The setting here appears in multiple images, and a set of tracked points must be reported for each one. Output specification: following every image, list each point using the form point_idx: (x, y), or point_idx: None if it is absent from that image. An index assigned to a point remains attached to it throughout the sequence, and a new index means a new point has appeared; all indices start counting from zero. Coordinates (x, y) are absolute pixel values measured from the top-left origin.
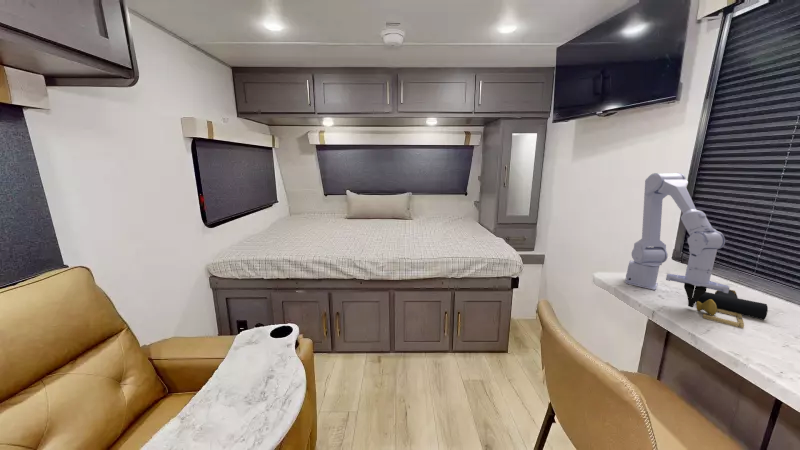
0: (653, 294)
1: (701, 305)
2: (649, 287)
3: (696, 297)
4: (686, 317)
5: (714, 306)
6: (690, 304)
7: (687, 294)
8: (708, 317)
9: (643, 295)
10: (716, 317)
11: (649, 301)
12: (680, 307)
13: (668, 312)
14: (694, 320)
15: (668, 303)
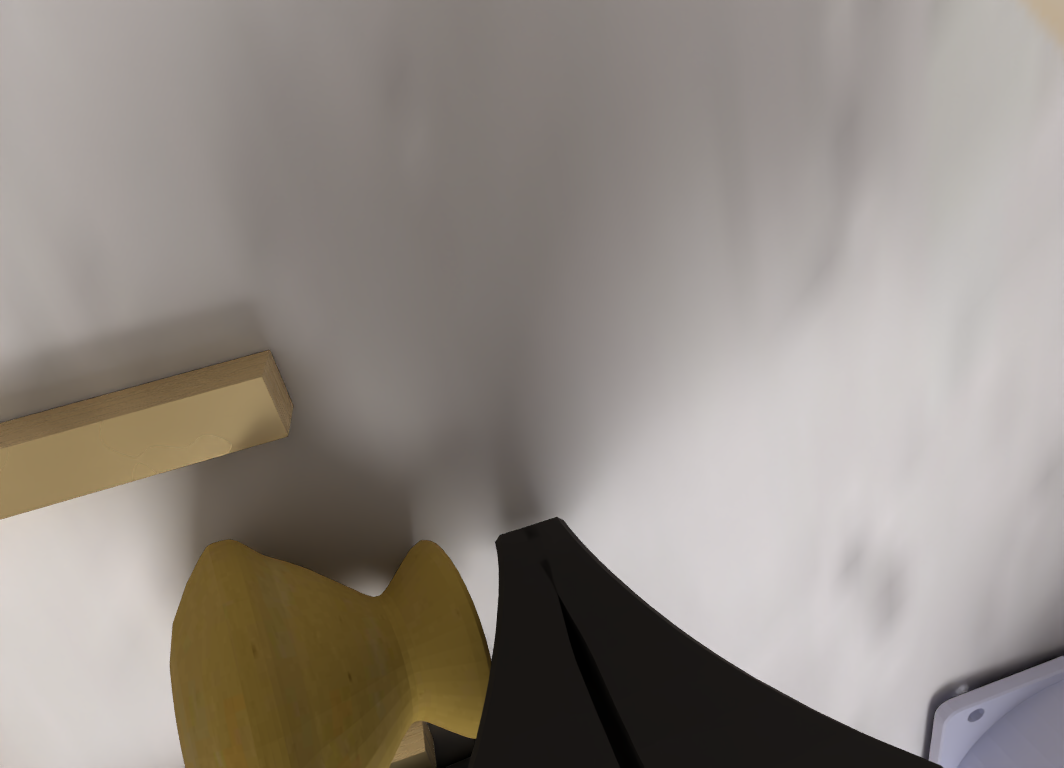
0: (947, 577)
1: (399, 643)
2: (1003, 703)
3: (525, 711)
4: (447, 68)
5: (181, 737)
6: (546, 545)
7: (722, 667)
8: (181, 387)
9: (1059, 427)
10: (72, 475)
11: (1003, 267)
12: (629, 465)
13: (734, 13)
14: (296, 42)
15: (778, 456)
